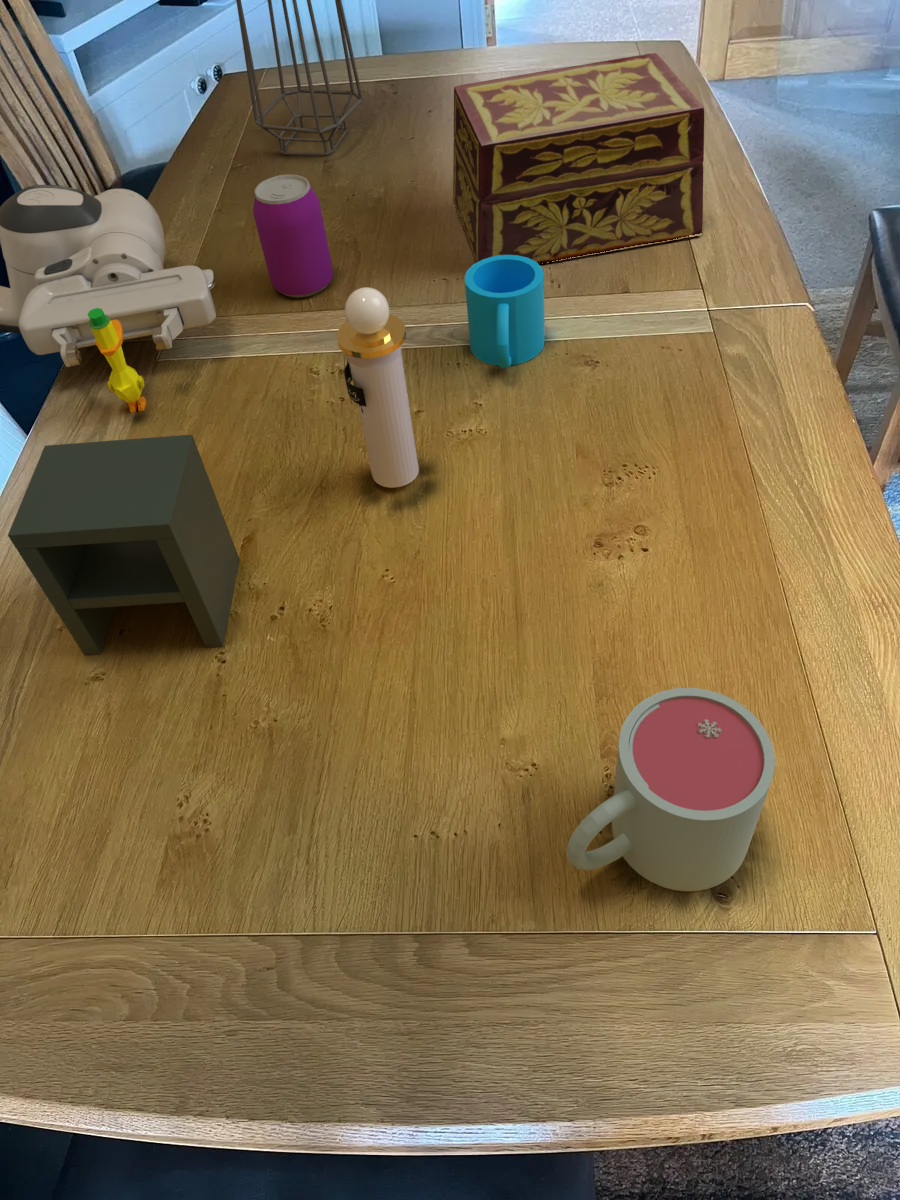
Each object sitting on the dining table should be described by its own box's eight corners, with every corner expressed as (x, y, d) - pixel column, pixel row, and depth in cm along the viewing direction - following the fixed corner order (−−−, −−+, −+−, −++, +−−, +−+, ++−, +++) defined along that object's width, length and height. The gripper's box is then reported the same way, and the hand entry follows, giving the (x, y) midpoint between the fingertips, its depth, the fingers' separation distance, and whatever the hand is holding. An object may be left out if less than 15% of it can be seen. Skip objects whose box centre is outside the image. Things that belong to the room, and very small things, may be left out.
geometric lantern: (290, 118, 146) (230, -166, 120) (383, 123, 142) (343, -170, 115) (245, 165, 137) (170, -132, 110) (344, 171, 133) (290, -135, 106)
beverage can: (289, 264, 117) (266, 169, 108) (344, 270, 115) (326, 173, 106) (261, 297, 113) (235, 201, 104) (319, 304, 111) (297, 207, 102)
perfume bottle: (414, 450, 92) (386, 264, 77) (434, 486, 89) (409, 298, 73) (359, 468, 91) (319, 283, 76) (377, 505, 88) (339, 318, 72)
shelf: (83, 655, 79) (7, 535, 68) (110, 567, 85) (44, 445, 74) (223, 646, 78) (168, 524, 67) (239, 558, 85) (192, 434, 74)
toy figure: (124, 389, 103) (82, 291, 94) (156, 383, 103) (117, 286, 94) (119, 427, 99) (74, 329, 90) (152, 421, 99) (111, 323, 90)
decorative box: (654, 169, 125) (664, 46, 114) (703, 237, 113) (719, 107, 102) (452, 204, 124) (442, 83, 112) (480, 276, 112) (471, 149, 100)
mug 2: (691, 746, 68) (708, 665, 61) (778, 849, 63) (808, 773, 55) (530, 835, 65) (526, 761, 57) (606, 952, 59) (614, 887, 52)
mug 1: (472, 323, 106) (466, 256, 99) (544, 320, 105) (544, 253, 98) (465, 389, 98) (459, 321, 92) (544, 387, 97) (543, 318, 91)
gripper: (222, 291, 108) (225, 359, 99) (44, 322, 107) (31, 394, 98) (206, 239, 103) (208, 306, 94) (20, 272, 102) (4, 343, 93)
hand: (116, 352), depth 96 cm, fingers open, 8 cm apart
